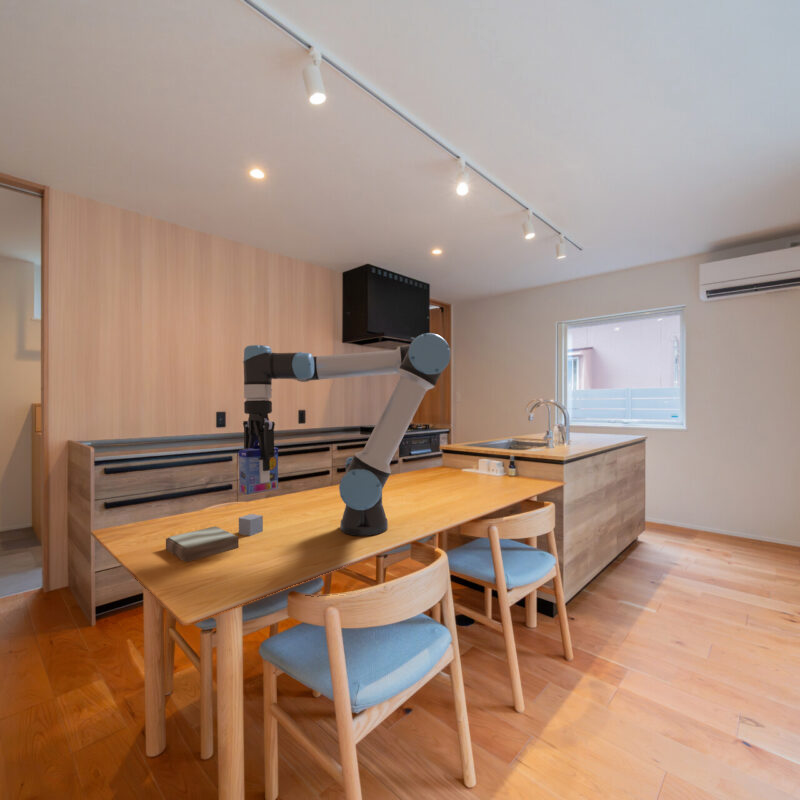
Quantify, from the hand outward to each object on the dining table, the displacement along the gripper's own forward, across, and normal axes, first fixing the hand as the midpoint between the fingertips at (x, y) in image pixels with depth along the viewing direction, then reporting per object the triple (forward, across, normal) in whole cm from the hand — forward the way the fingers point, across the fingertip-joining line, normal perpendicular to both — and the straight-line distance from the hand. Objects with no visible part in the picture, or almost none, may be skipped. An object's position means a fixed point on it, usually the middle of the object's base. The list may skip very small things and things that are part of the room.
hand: (259, 480), depth 117 cm
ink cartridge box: (+3, 0, 0) cm, 3 cm away
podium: (+18, +9, +12) cm, 24 cm away
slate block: (+18, +12, -4) cm, 22 cm away
